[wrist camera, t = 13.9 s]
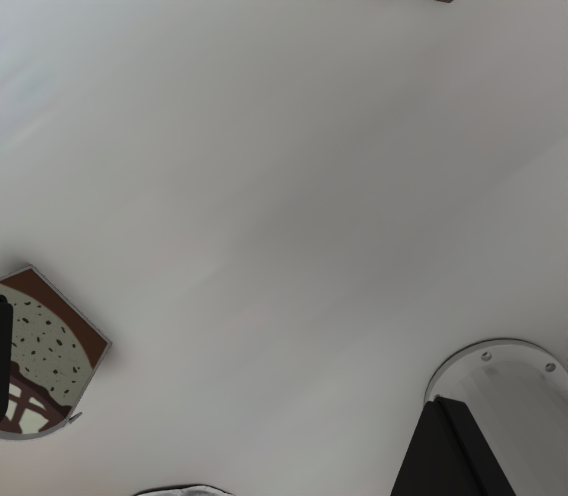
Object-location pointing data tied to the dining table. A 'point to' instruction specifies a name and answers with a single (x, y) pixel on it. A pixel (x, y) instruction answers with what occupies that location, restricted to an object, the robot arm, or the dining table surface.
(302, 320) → the dining table surface
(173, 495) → the food container
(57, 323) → the food container
